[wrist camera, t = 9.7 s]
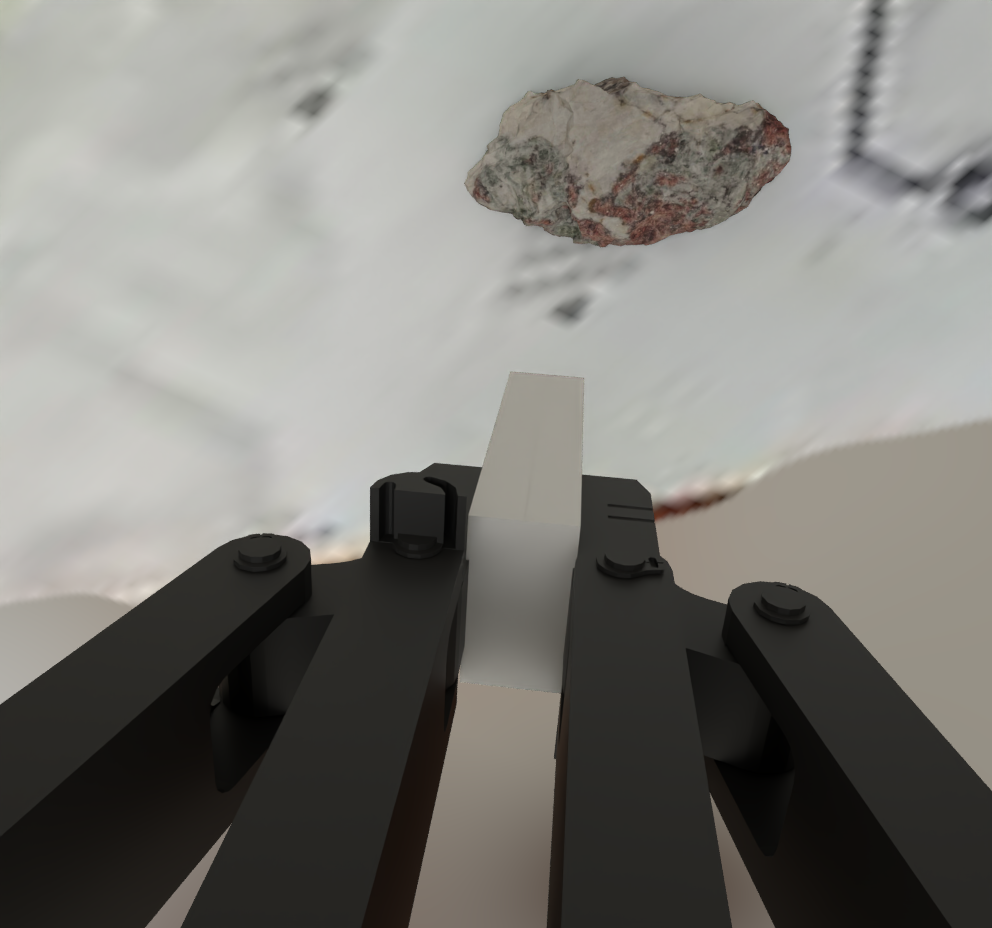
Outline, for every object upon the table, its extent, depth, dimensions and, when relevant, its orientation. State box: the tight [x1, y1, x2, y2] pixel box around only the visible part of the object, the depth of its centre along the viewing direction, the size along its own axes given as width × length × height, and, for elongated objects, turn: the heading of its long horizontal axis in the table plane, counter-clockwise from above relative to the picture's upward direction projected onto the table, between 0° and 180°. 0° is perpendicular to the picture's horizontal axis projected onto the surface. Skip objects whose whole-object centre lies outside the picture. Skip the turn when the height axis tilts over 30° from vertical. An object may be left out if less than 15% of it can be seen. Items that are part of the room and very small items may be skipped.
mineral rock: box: [464, 77, 791, 247], centre depth 42 cm, size 15×8×4 cm, turn 80°
